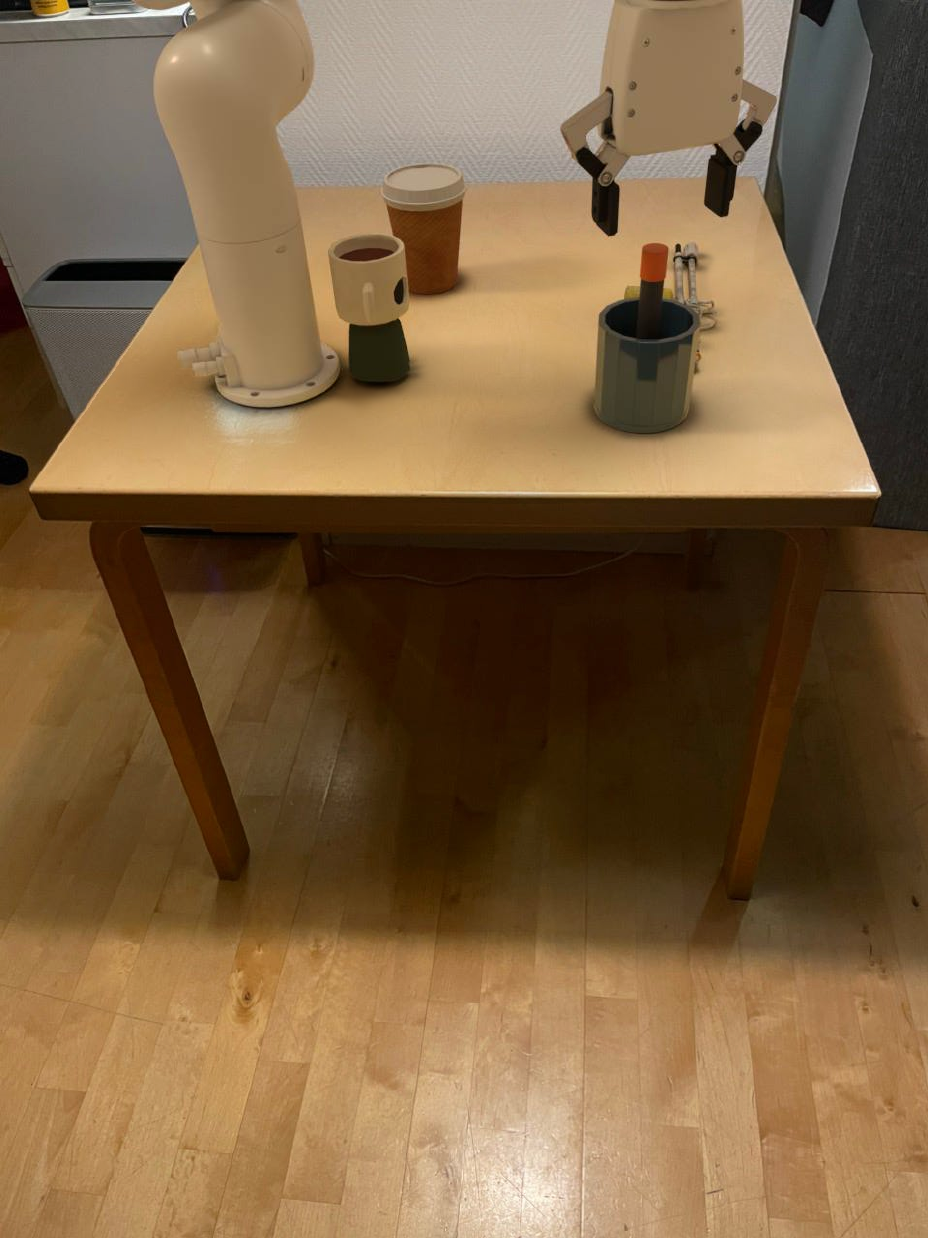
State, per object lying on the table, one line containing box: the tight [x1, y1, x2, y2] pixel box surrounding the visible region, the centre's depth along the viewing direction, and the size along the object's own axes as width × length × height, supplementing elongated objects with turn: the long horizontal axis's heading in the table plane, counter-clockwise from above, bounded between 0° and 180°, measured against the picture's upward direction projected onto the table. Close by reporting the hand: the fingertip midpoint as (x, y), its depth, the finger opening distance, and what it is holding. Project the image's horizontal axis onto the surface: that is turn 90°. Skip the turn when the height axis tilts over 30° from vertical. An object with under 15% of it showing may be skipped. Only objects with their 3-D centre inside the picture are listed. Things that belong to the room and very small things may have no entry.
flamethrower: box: [623, 241, 719, 363], centre depth 105 cm, size 29×3×10 cm
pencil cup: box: [593, 297, 701, 434], centre depth 89 cm, size 9×9×9 cm
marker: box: [636, 242, 670, 340], centre depth 86 cm, size 2×2×14 cm
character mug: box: [327, 232, 411, 383], centre depth 94 cm, size 11×7×13 cm, turn 3°
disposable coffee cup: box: [379, 162, 468, 295], centre depth 110 cm, size 10×10×12 cm
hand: (661, 220), depth 80 cm, fingers open, 9 cm apart
